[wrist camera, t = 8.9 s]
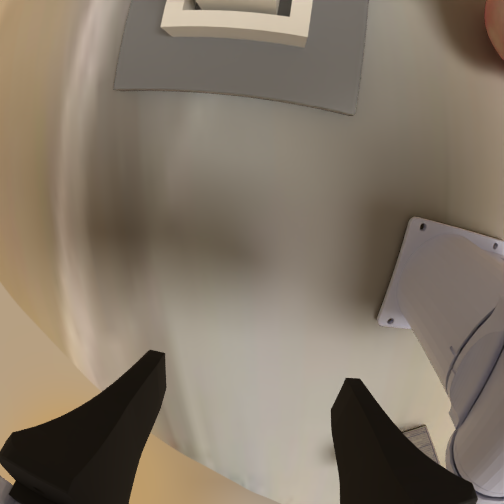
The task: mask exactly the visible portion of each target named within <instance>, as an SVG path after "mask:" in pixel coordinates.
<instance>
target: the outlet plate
mask: <svg viewBox="0 0 504 504" xmlns="http://www.w3.org/2000/svg"><path fill="white" fill-rule="evenodd" d="M368 3H369V0H280V3H279V8H278V14H277V15H272V14H263V13H253V12H240V11H222V10H201V8H200V7H199V5H198V3H197V2H196V0H132V1H131V5H130V9H129V13H128V17H127V21H126V25H125V29H124V34H123V38H122V43H121V48H120V53H119V58H118V64H117V70H116V76H115V82H114V90H119V91H180V92H199V93H212V94H223V95H233V96H242V97H251V98H258V99H266V100H272V101H279V102H285V103H291V104H297V105H302V106H307V107H312V108H317V109H322V110H327V111H332V112H336V113H340V114H345V115H349V116H353V115H355V113H356V106H357V100H358V93H359V86H360V79H361V71H362V63H363V55H364V46H365V37H366V27H367V15H368Z"/></svg>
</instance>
